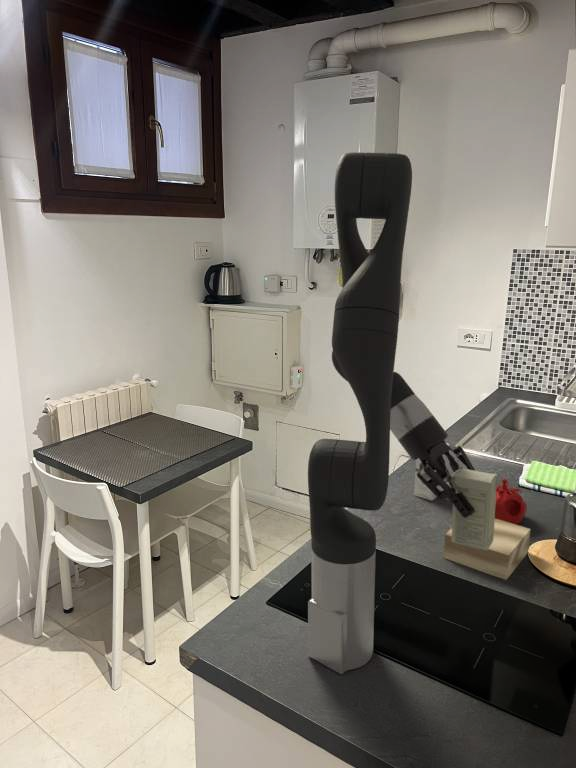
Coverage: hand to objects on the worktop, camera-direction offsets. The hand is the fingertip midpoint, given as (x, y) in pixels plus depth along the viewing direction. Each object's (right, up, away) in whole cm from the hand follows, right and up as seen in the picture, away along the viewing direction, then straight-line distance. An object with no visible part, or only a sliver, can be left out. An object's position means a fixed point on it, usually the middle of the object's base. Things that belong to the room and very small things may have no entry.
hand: (476, 508), depth 97 cm
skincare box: (0, -6, +2) cm, 6 cm away
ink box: (+3, -5, +42) cm, 43 cm away
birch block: (+7, -12, +15) cm, 21 cm away
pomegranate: (+15, -9, +29) cm, 34 cm away
